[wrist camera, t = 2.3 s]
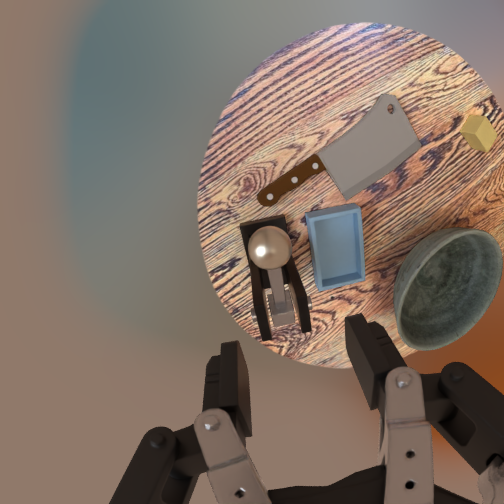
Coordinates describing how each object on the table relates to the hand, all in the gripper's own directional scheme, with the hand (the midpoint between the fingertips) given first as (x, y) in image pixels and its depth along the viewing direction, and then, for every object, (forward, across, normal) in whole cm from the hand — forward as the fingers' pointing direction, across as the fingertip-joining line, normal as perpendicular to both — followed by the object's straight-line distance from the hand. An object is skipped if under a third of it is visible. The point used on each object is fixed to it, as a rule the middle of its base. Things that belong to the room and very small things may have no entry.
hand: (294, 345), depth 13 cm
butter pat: (+29, -36, -4) cm, 47 cm away
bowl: (+30, -26, +18) cm, 43 cm away
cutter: (+29, 0, +9) cm, 31 cm away
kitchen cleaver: (+30, -12, -2) cm, 32 cm away
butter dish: (+29, -10, +10) cm, 32 cm away
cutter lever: (+14, 0, +4) cm, 15 cm away
